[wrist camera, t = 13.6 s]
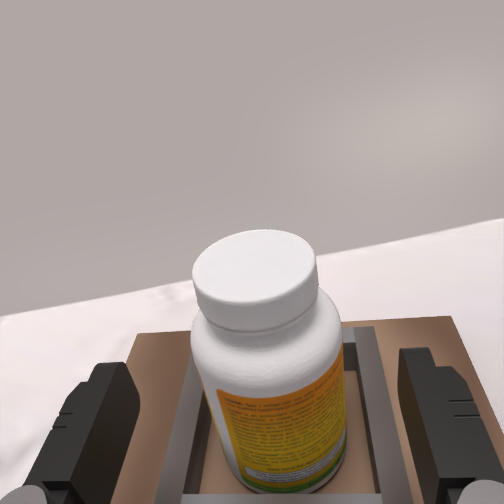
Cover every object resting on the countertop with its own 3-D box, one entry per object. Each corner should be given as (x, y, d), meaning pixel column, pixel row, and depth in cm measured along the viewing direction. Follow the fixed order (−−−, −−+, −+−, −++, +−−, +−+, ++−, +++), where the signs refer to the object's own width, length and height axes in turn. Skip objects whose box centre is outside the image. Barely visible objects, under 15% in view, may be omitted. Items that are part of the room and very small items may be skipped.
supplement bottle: (374, 440, 19) (377, 252, 13) (280, 534, 16) (237, 351, 11) (288, 370, 22) (263, 203, 17) (201, 438, 20) (139, 266, 14)
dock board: (31, 640, 15) (-9, 608, 14) (142, 345, 27) (127, 308, 25) (592, 667, 13) (625, 632, 11) (448, 329, 24) (454, 287, 23)
